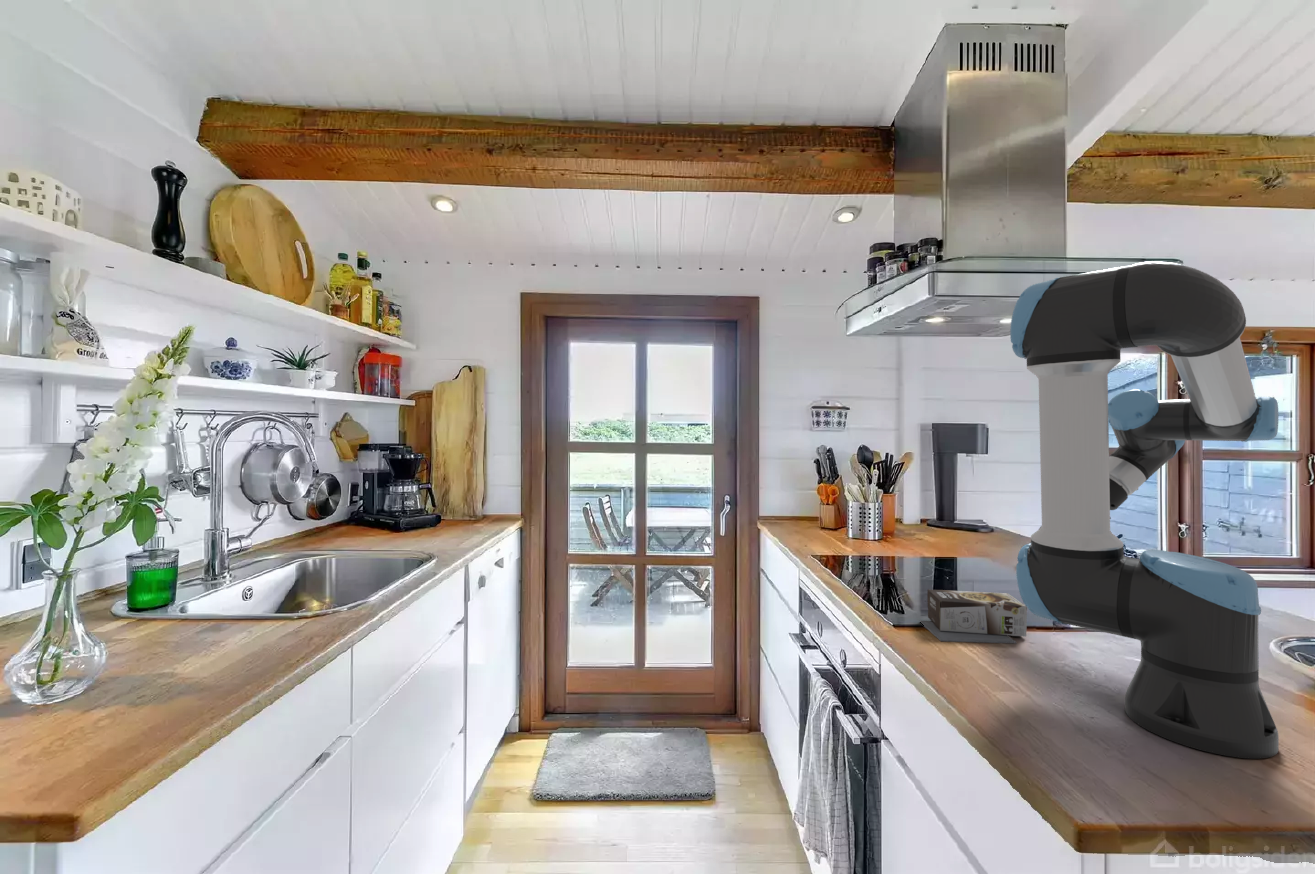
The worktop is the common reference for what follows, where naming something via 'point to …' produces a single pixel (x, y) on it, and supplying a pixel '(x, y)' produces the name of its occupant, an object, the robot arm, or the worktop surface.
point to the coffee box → (977, 612)
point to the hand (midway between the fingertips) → (1024, 565)
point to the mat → (965, 635)
